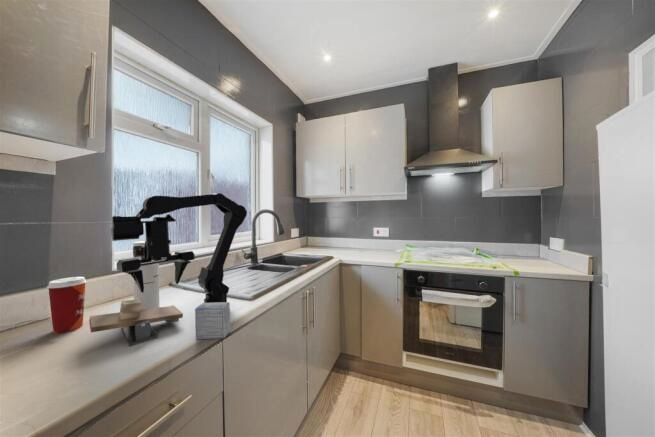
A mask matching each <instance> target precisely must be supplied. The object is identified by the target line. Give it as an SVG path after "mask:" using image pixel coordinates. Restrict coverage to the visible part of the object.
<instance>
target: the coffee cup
mask: <svg viewBox="0 0 655 437" xmlns="http://www.w3.org/2000/svg"><path fill="white" fill-rule="evenodd" d="M86 283H87V280H86V277H84V276H70V277H64V278H58V279H54V280H50V281H49V282H48V285H47V286H46V289H48V296H49V306H50V315H51V322H52V330H53V331H52V332H53V333H54V334H63V333H68V332H72V331H75V330H78V329H80V328H82V327H83V324H84V315H85V314H84V312H85V297H86V294H85V293H86Z"/></svg>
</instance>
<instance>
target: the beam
mask: <svg viewBox="0 0 655 437" xmlns="http://www.w3.org/2000/svg"><path fill="white" fill-rule="evenodd" d="M119 314H120V311H119V312H114V313H113V312H112V313H104V314H97V315H96V314H95V315H91V316H89V320H88V321H89V322H88V323H89V329H90V333H95V332H103V331H108V330H109V331H110V330H115V329H122V327H128V326H135V324H136V323H140V322H144V321H148V320H149V321H150V324H152V323H158V322H165V323H166V324H172V323H178V322H179V321H180V319H182V318H183V316H184V312H181V310H180V309H178V308H177V307H176V306H175V305H169V306H161V307H160V306H159V308H151V309H143V310H141V311H140V317H136V318H129V319H122V320H121V318H120V316H119Z"/></svg>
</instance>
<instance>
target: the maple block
mask: <svg viewBox="0 0 655 437" xmlns="http://www.w3.org/2000/svg"><path fill="white" fill-rule="evenodd" d="M141 304H142V302H141V301H140V300H139V299H137V300H134V299H129V300H121V303H120V308H119V312H120V314H119V316H120V318H121V320H122V319H129V318H136V317H140V311H141Z"/></svg>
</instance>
